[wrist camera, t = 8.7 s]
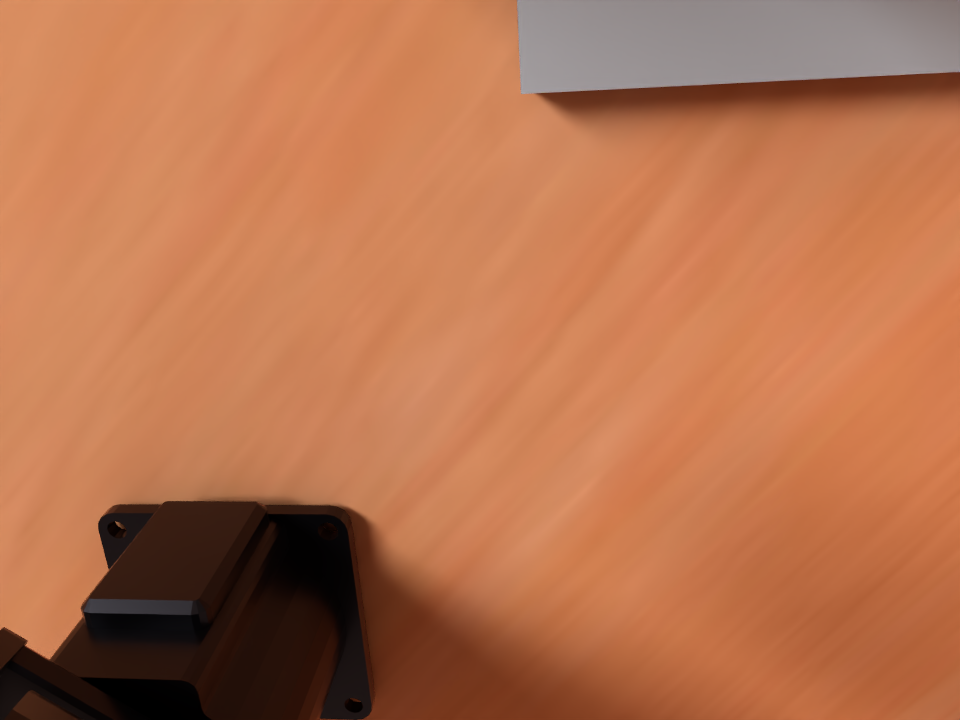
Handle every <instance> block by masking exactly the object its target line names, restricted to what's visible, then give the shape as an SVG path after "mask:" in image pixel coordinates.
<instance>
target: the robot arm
mask: <svg viewBox="0 0 960 720" xmlns="http://www.w3.org/2000/svg"><path fill="white" fill-rule="evenodd" d="M115 521H116V522H120V523H121V524H123V525H124V526H125V528H126V530H125V529H121V528H120V527H118V526H117V524H116V522H115ZM323 523H330V524H333V525H334V526H335V527H336V528H337V530H338V531H334V532H333V531H329V530H327V529H326V528H325V527H324V526H323ZM98 530H99V534H100V538H101V541H102V545H103V549H104V553H105V557H106V561H107V565H108V568H109V571H108V572H107V573H106V575H105V576H104V577H103V578H102V580H101V581H100V582H99V583H98V585H97V586H96V587H95V588H94V590H93V591H92V592H91V593H90V595H89V596H88V597H87V599H86V600H85V601H84V602H83V604H82V606H81V611H82V614H83V617H82V619H81V620H80V621H79V622H78V624H77V625H76V626H75V628H74V629H73V630H72V631H71V633H70V634H69V635H68V637H67V638H66V639H65V640H64V642H63V643H62V644H61V646H60V647H59V648H58V649H57V651H56V652H55V653H54V655H53V656H52V657H51V658H50V660H49V659H47V658H45V657H44V656H42V655H40V654H39V653H37V652H35V651H34V650H32V649H30V648H28V647H27V646H25V645H26V643H27V642H28V641H27V640H25V639H24V638H22V637H20V636H19V635H17V634H15V633H14V632H12V631H10V630H8V629H7V628H5V627H4V628H2V629H1V630H0V720H319V719H349V720H358V719H363V718H365V717H367V716H368V715H369V714H370V712H371V710H372V707H373V704H374V699H375V692H374V684H373V677H372V670H371V662H370V655H369V647H368V640H367V632H366V625H365V618H364V610H363V603H362V595H361V588H360V580H359V573H358V566H357V558H356V551H355V543H354V536H353V528H352V522H351V519H350V517H349V515H348V514H347V513H346V512H345V511H344V510H342V509H340V508H339V507H335V506H316V505H262V504H260V503H258V502H206V501H167V502H164V503H163V504H162V505H115V506H112V507H111V508H110V509H108V510H107V512H106V513H105V514H104V515H103V516H102V517H101V519H100V521H99V523H98ZM350 698H355V699H358V700H359V701H361V702H356V701H353V700H351V699H350Z"/></svg>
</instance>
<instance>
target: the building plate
mask: <svg viewBox="0 0 960 720" xmlns="http://www.w3.org/2000/svg"><path fill="white" fill-rule="evenodd" d="M517 9H518V33H519V56H520V79H521V94H529V93H549V92H569V91H589V90H609V89H629V88H649V87H669V86H689V85H708V84H728V83H748V82H768V81H788V80H808V79H828V78H848V77H868V76H887V75H907V74H927V73H947V72H960V0H517Z"/></svg>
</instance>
